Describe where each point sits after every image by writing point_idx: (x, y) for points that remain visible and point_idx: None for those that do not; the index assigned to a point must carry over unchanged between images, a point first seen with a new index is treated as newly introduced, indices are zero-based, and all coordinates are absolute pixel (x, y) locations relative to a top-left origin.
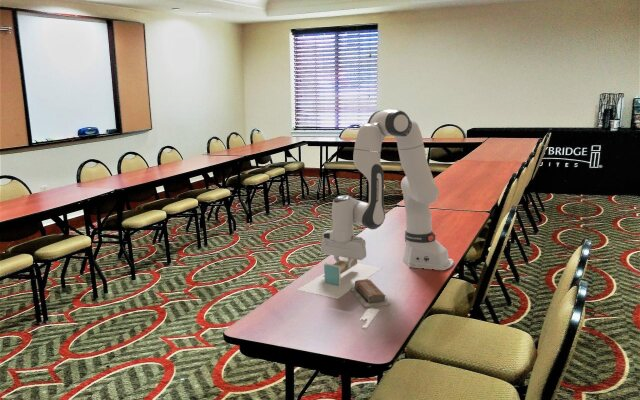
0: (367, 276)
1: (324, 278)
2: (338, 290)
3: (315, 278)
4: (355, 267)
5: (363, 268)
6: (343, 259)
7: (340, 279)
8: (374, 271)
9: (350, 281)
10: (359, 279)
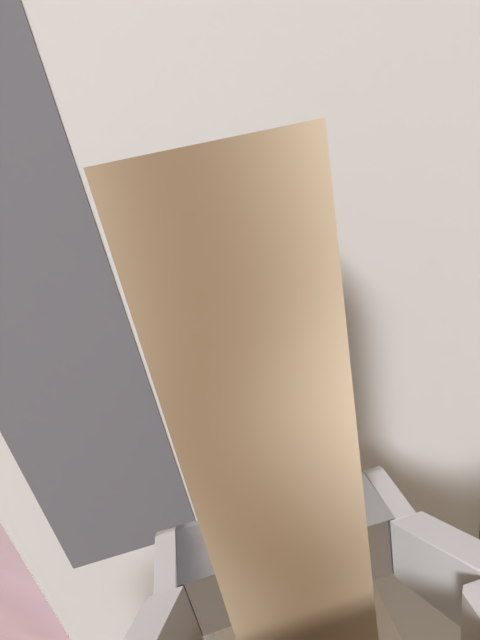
0: (473, 251)
1: (133, 579)
2: (407, 616)
3: (65, 630)
4: (126, 57)
5: (265, 9)
6: (255, 581)
7: (386, 611)
8: (476, 21)
9: (388, 463)
10: (437, 374)
